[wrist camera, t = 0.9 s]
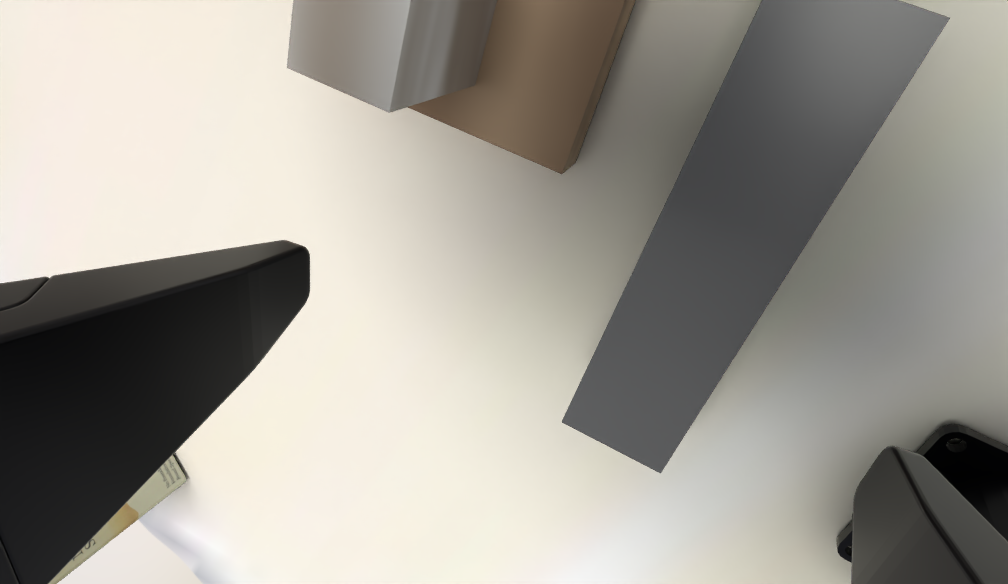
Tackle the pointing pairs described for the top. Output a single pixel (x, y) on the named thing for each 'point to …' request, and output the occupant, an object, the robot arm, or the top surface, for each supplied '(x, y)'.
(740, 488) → the top surface
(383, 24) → the display stand
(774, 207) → the frame bar
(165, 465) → the skincare box
